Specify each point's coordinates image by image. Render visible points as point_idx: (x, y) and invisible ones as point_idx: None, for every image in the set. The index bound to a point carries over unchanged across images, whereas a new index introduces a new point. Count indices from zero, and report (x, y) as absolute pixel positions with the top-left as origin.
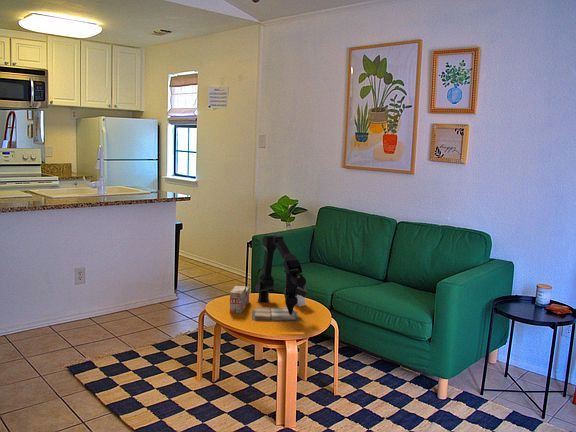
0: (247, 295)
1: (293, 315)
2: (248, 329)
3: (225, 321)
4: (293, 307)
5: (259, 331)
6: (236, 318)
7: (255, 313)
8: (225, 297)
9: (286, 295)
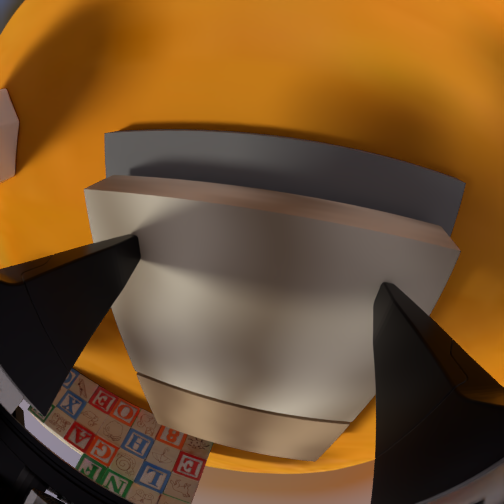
0: (68, 414)
1: (433, 268)
2: None
3: (290, 471)
4: (477, 367)
5: None
6: (259, 455)
7: (268, 454)
8: None
9: (22, 397)
